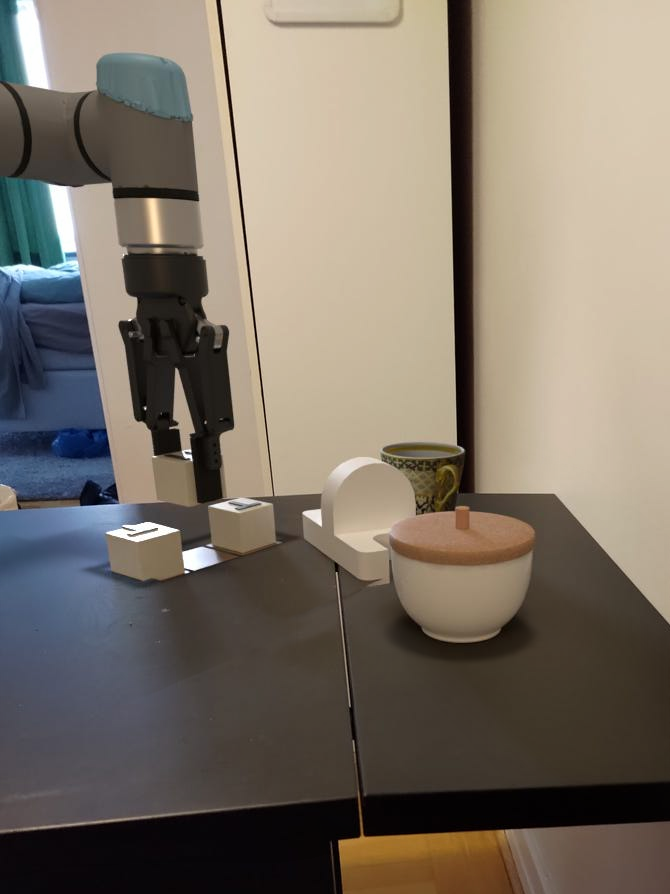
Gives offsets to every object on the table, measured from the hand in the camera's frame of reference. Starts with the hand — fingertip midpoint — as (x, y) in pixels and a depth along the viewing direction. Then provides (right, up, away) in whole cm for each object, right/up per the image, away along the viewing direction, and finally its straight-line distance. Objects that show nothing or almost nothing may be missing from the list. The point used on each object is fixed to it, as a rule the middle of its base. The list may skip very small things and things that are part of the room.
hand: (191, 496), depth 91 cm
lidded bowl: (+28, -14, -12) cm, 34 cm away
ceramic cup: (+24, -2, +15) cm, 28 cm away
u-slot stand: (+18, -6, +6) cm, 20 cm away
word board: (0, -7, +3) cm, 7 cm away
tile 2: (+3, -4, +8) cm, 9 cm away
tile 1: (-4, -8, -2) cm, 9 cm away
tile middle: (0, 0, 0) cm, 0 cm away
